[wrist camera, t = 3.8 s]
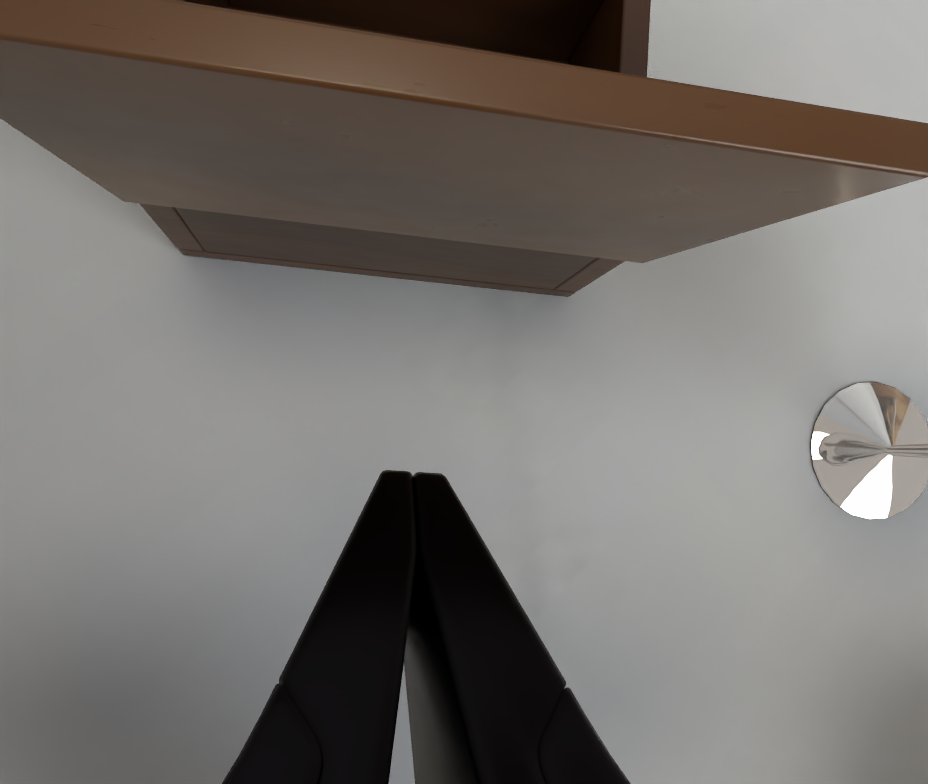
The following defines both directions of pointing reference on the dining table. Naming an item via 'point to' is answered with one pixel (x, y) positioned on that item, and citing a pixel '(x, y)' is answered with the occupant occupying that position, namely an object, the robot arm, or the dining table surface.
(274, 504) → the dining table surface
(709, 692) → the dining table surface
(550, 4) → the chest
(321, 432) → the dining table surface
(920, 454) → the wineglass
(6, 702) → the dining table surface
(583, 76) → the lid
